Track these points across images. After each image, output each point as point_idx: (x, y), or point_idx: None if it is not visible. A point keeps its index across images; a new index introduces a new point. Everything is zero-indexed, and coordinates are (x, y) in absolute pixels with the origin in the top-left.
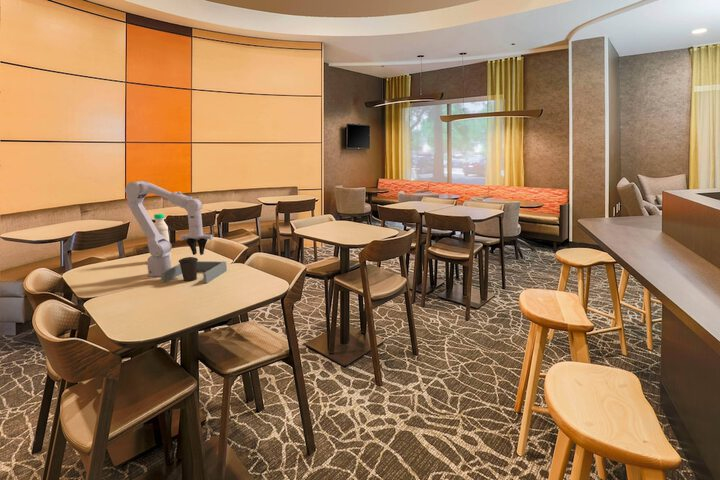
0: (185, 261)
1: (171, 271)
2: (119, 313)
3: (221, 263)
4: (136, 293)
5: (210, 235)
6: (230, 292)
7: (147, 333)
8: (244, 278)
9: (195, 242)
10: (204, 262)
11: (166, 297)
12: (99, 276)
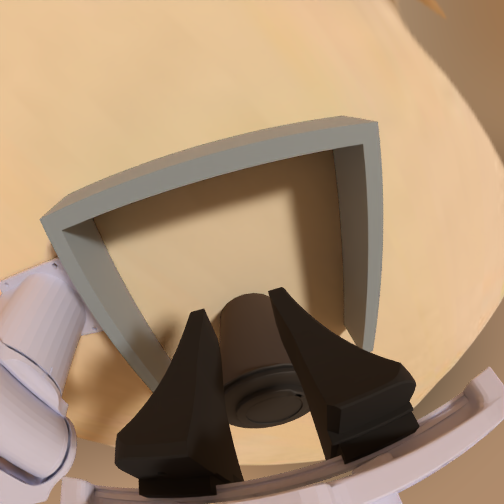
0: (288, 421)
1: (150, 362)
2: (273, 455)
3: (373, 178)
4: None
5: (491, 430)
6: (438, 331)
7: None
8: (456, 218)
9: (204, 417)
10: (204, 177)
11: None
12: None
